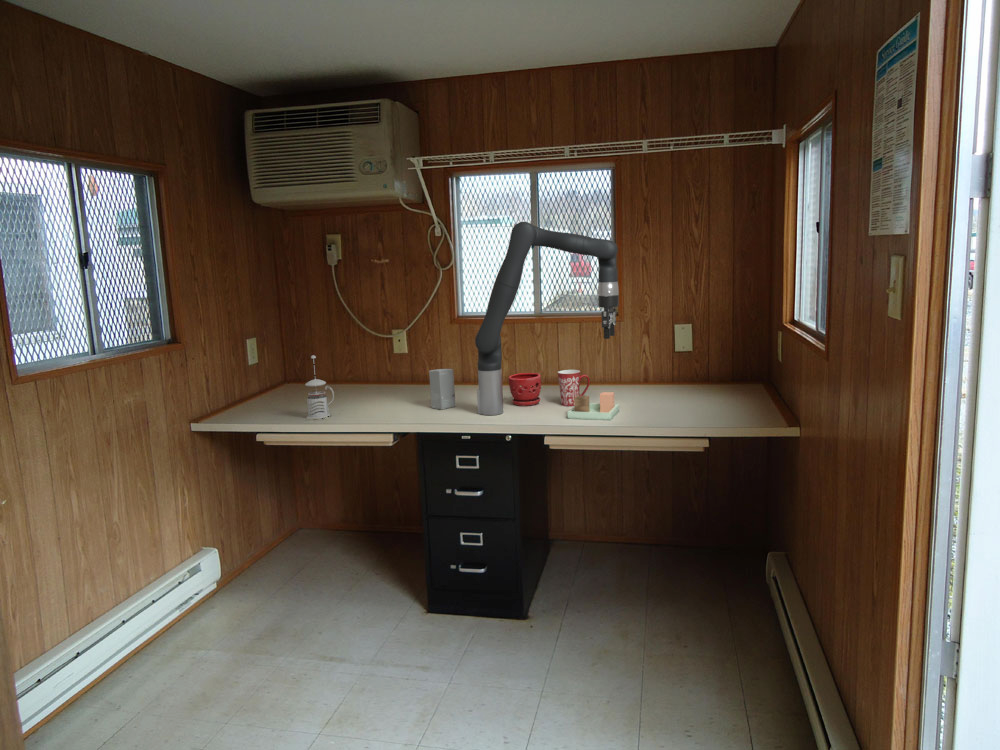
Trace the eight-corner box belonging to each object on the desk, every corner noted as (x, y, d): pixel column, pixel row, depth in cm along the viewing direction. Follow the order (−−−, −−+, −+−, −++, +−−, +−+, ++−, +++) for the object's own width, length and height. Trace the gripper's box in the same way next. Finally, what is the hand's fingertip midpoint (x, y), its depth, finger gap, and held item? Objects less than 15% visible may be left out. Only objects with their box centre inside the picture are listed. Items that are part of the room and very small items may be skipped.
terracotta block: (600, 412, 273) (599, 394, 272) (602, 410, 277) (602, 392, 276) (612, 413, 271) (611, 394, 270) (614, 410, 275) (614, 392, 274)
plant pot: (516, 400, 306) (514, 372, 304) (545, 401, 301) (544, 372, 299) (505, 406, 294) (503, 377, 292) (536, 407, 289) (534, 378, 287)
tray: (567, 418, 268) (567, 411, 268) (578, 409, 283) (578, 402, 282) (610, 420, 263) (610, 413, 262) (619, 410, 277) (619, 404, 277)
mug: (558, 407, 289) (557, 373, 286) (558, 402, 298) (557, 369, 295) (590, 406, 288) (589, 372, 285) (589, 401, 296) (589, 368, 294)
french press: (308, 415, 296) (302, 354, 292) (337, 413, 297) (331, 352, 293) (304, 420, 287) (298, 357, 282) (334, 418, 288) (328, 356, 283)
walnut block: (574, 416, 269) (574, 397, 268) (577, 413, 273) (577, 395, 272) (586, 416, 267) (586, 398, 266) (589, 414, 271) (589, 395, 270)
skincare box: (441, 410, 293) (439, 371, 291) (429, 408, 298) (427, 370, 296) (456, 406, 300) (454, 368, 297) (445, 404, 304) (442, 367, 302)
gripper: (602, 293, 280) (603, 335, 283) (594, 295, 267) (595, 339, 270) (622, 292, 277) (622, 334, 280) (614, 295, 264) (615, 339, 267)
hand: (609, 337), depth 275 cm, fingers open, 8 cm apart
